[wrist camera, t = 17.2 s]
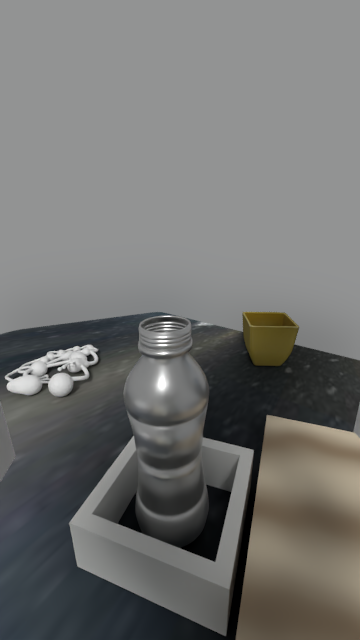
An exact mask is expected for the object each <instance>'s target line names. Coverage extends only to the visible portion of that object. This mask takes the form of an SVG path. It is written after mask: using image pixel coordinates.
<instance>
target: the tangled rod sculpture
mask: <svg viewBox="0 0 360 640" xmlns="http://www.w3.org/2000/svg"><path fill="white" fill-rule="evenodd" d="M83 348H84V349H83ZM81 349H83V350H81ZM70 350H73V351H70ZM97 351H98V349H96V348H94V347H93V346H92V345H86V346H83V347H79V346H75V347H74V348H71V349H67V350H59V351H50V352H48V353H47V356H44V357H42V358H39V359H37V360H34V361H31V362H29V363H26V364H24V365H22V366H21V367H20V368H19V369H16V370H14V371H12V372H11V373H9V374H7V375H6V376H5V379H7V380H8V381H10V382H9V383H8V384H7V389H8V390H9V391H11V392H13V393H18V394H24V395H33V394H36V393H38V392H39V391H40V390H41V388H42V383H48V387H49V391H50V392H51V393H52V394H53V395H54V396H57V397H63V396H66V395H67V394H69V393H70V392H71V390H72V388H73V381H80V380H86V379H88V378H89V372H88V370H87V367H89V365H94V364H96V363H97V362H98V356H97V354H96V353H95V352H97ZM53 353H57V355H54V354H53ZM89 354H91V355H93V357H94V359H95V360H94V361H91V362H88V361H87V357H86V356H88V355H89ZM56 357H59V358H57V359H55V358H56ZM60 360H63V361H61V362H57V361H60ZM55 362H57V363H55ZM32 363H33V364H32ZM66 363H67V364H66ZM30 364H32V365H31V366H27V365H30ZM62 364H64V365H63V366H62V367H59V368H58V371H61V370H62V368H63V369H65V368H66V366H67V369H68V370H69V371H70V372H73V373H76V372H79V371H81V370H83V371H84V373H85V376H78V377H71V376H69V375H68V374H66V373H58V374H55V375H54V376H52V378H51V379H50V378H48V377H49V376H48V375H45V374H46V373H47V370H48V367H53V366H57V365H62ZM28 368H29V369H28ZM23 369H27V370H25V371H21V370H23ZM16 372H18V373H23V376H22V377H18V378H16V379H14V380H13V379H11V378H9V376H10V375H12V374H14V373H16ZM28 373H31V374H32V375H28ZM43 378H44V379H43ZM45 380H50V381H45Z"/></svg>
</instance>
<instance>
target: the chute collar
mask: <svg viewBox="0 0 360 640" xmlns="http://www.w3.org/2000/svg"><path fill="white" fill-rule="evenodd" d="M253 455H254V450H252V449H248V448H244V447H240V446H236V445H232V444H228V443H224V442H220V441H216V440H211V439H207V438H203V443H202V463H203V473H204V480H205V483H206V484H207V485H210V486H213V487H216V488H220V489H223V490H226V491H230V492H231V496H230V501H229V505H228V509H227V514H226V518H225V522H224V527H223V531H222V535H221V540H220V544H219V548H218V553H217V557H216V561H215V562H214V561H211V560H209V559H206V558H203V557H201V556H198V555H196V554H193V553H191V552H188V551H185V550H183V549H180V548H178V547H175V546H173V545H170V544H168V543H165V542H162V541H160V540H157V539H155V538H152V537H150V536H147V535H145V534H142V533H139V532H137V531H134V530H132V529H129V528H127V527H124V526H122V525H119V524H118V522H119V520H120V519H121V517H122V515H123V513H124V512H125V510H126V508H127V507H128V505H129V503H130V501H131V500H132V498H133V496H134V494H135V493H136V491H137V488H138V458H137V451H136V446H135V440H134V436H133V437H132V439H131V440H130V441H129V443H128V444H127V445H126V447H125V448H124V450H123V451H122V452H121V454H120V455H119V456H118V458H117V459H116V460H115V462H114V463H113V464H112V466H111V467H110V468H109V470H108V471H107V472H106V474H105V475H104V477H103V478H102V479H101V481H100V482H99V483H98V485H97V486H96V487H95V489H94V490H93V491H92V493H91V494H90V495H89V497H88V498H87V499H86V501H85V502H84V503H83V505H82V506H81V508H80V509H79V510H78V512H77V513H76V514H75V516H74V517H73V518H72V520H71V521H70V522H69V525H70V530H71V535H72V541H73V546H74V551H75V557H76V562H77V566H78V567H80V568H82V569H84V570H86V571H88V572H90V573H92V574H95V575H97V576H99V577H101V578H103V579H105V580H107V581H109V582H112V583H114V584H116V585H118V586H120V587H122V588H124V589H126V590H128V591H131V592H133V593H135V594H137V595H139V596H141V597H143V598H145V599H147V600H150V601H152V602H154V603H156V604H158V605H160V606H162V607H164V608H167V609H169V610H171V611H173V612H175V613H177V614H179V615H181V616H183V617H186V618H188V619H190V620H192V621H194V622H196V623H198V624H200V625H202V626H205V627H207V628H209V629H211V630H213V631H215V632H217V633H219V634H222V635H224V636H226V635H227V629H228V622H229V616H230V610H231V604H232V598H233V592H234V586H235V580H236V573H237V567H238V561H239V555H240V549H241V543H242V537H243V531H244V525H245V518H246V512H247V506H248V500H249V494H250V488H251V477H252V466H253Z"/></svg>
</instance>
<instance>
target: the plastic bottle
mask: <svg viewBox="0 0 360 640" xmlns="http://www.w3.org/2000/svg"><path fill="white" fill-rule="evenodd" d="M191 349H192V338H191V322H190V321H189V320H188V319H186V318H183V317H179V316H157V317H152V318H148V319H145V320H143V321H142V322H141V323H140V324H139V342H138V350H139V352H140V353H141V354H143V355H142V356H141V358H140V359H139V360H138V361H137V363H136V364H135V365H134V367H133V369H132V370H131V372H130V374H129V375H128V377H127V379H126V383H125V387H124V393H123V397H124V401H125V406H126V410H127V413H128V416H129V420H130V423H131V427H132V430H133V434H134V440H135V446H136V451H137V458H138V488H137V493H136V504H135V513H136V518H137V521H138V524H139V527H140V529H141V531H142V533H143V534H145V535H147V536H150V537H152V538H155V539H157V540H160V541H162V542H165V543H168V544H170V545H173V546H175V547H178V548H181V547H184V546H186V545H188V544H190V543H191V542H193V541H194V540H195V539H196V538H197V537H198V536H199V535H200V534H201V532H202V531H203V529H204V526H205V524H206V520H207V515H208V511H209V498H208V492H207V487H206V483H205V480H204V473H203V463H202V443H203V429H204V423H205V417H206V411H207V406H208V400H209V385H208V382H207V378H206V376H205V373H204V372H203V370H202V369H201V367H200V366H199V364H198V363H197V362H196V361H195V359H194V358H193V357H192V356H191V355H190V354H189V351H190V350H191Z"/></svg>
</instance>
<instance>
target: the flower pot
mask: <svg viewBox="0 0 360 640" xmlns="http://www.w3.org/2000/svg"><path fill="white" fill-rule="evenodd" d="M298 329H299V326H298V325H297V324H296V323H295V322H294V321H293V320H292V319H291V318H290V317H289V316H288V315H287V314H286V313H279V312H243V335H244V341H245V344H246V347H247V350H248V352H249V355H250V357H251V360H252V362H253V364H254V365H257V366H280V365H282V364H283V363H284V362H285V361H286V359H287V358H288V357H289V355H290V354H291V352H292V349H293V346H294V343H295V340H296V336H297V333H298Z"/></svg>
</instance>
